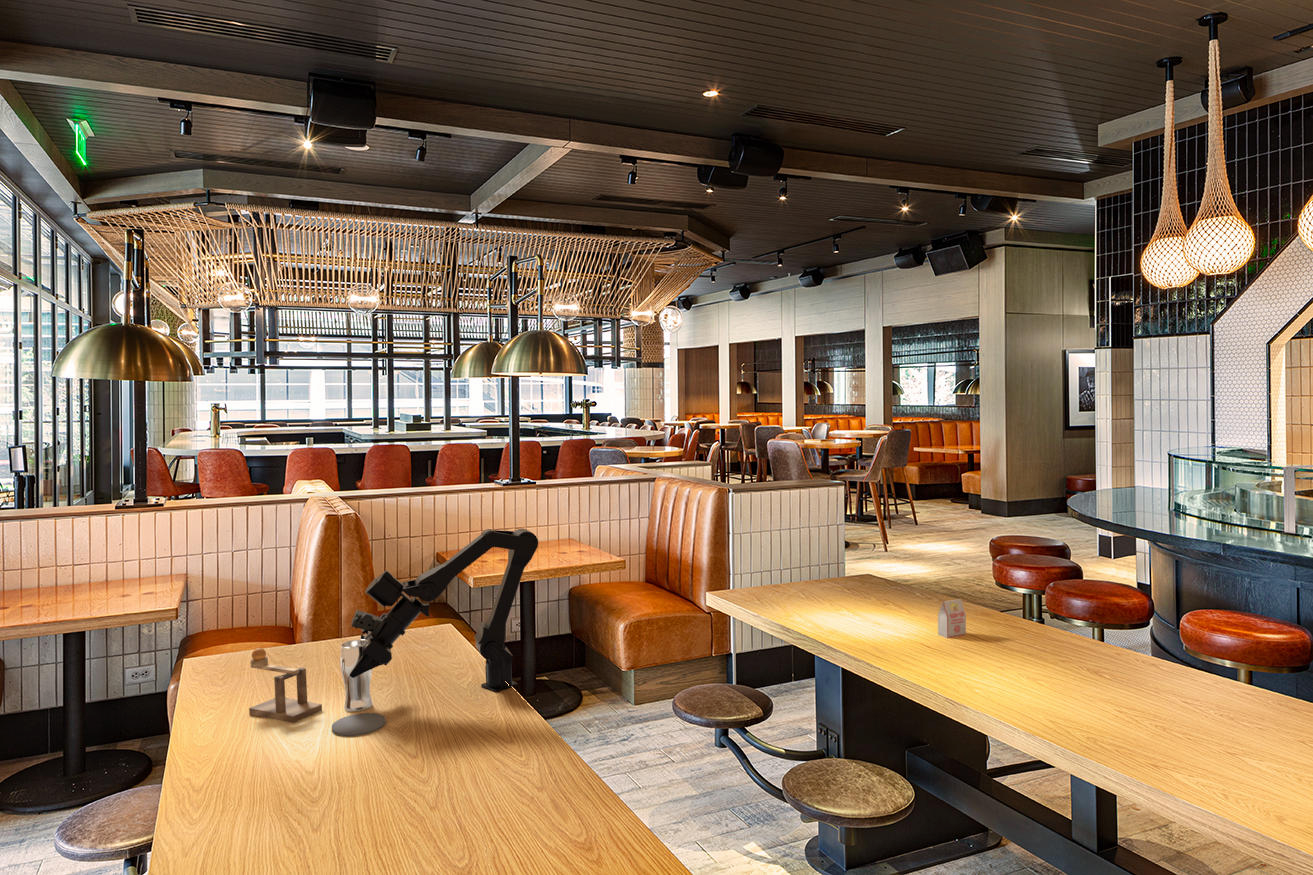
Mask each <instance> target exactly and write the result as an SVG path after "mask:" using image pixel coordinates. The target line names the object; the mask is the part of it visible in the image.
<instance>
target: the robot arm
mask: <svg viewBox="0 0 1313 875" xmlns="http://www.w3.org/2000/svg"><path fill="white" fill-rule="evenodd" d="M538 546H539V539H538V537H537V535H535V533H533V532H532V531H530V530H528V529H526V528H517V529H515V530H514V531H513V530H499V529H497V530H496V529H491V528H487V529H485V530H483V531H482V532H481V533H480V534H479V535H478V536H477V537H476V538H474V539H473V540H472V541H471V542H469V543H468V544H467V545H465V546H464V547H463V548H461V549H460V550H459V551H458V552H456V553H455V554H454V555H453V556H451V557H450V558H449V559H448V560H447V559H446V561H445V562H443V563H442V564H439V565H438V566H434V567H433V568H430V569H428V570H427V571H425V572H423V573H422V574H420V575H418V576H417V577H416V578H415V579H411V580H407V581H402V582H401V581H399V580H398V579H397V578H395V577H394V576H393V574H392V573H391V572H390V571H389V570H387V569H385V570H384V572H382V573H381V574H379V575H378V576H377V577H376V578H373V580H372V581H371V582H370V583H369V585H368V586H367V587H366V589H365V594H366V595H368V596H369V597H371V599H372V600H374V601H375V602H376V603H377V604H379V605H380V606H381V607H383V608H385V607H390V610H389V611H388V612H387V613H386V612H384V613H382V614H381V615H380V616H378V615H374V614H373V613H369V612H366V611H363V610H360V609H356V610H355V612H354V615H353V617H352V619H351V622H350V623H351V624H350V626H351V627H352V628H355V629H360V630H361V633H360V639H366V640H368V641H367V642H366V644H365V646H362V651H363V654H362V656H361V658H360V659H359V661H358V662H357V664H356V665H355V667H354V668H353V670H352V671H351V673H350V677H352V678H354V677H356V676H358V675H360V674H362V673H364V672H366V671H369V670H371V669H372V670H373V669H375V668H377V667H379V666H383V665H384V666H387V665H388V664H389V663H390V662H391V661H392V659H393V655H392V650H391V649H392V648H393V647H394V645H393V644H394V643H395V642H396V641H397V640H398V638H400V636H402V637H403V636H404V635H405V634H406V629H407V628H408V627H409V626H410V625H411V624H412V623H413V622H414V621H415V620H416V619H417V617H418V616H419V615H420V614H421V613H422V614H423V615H424V616H425V617H427V618H428V617H430V606H431V605H430V603H428V602H433V601H435V600H436V599H438V597H440V595H441V594H442V593H443V592H444V591H445V590H446V589H447V587H449V585H450V584H451V583H452V581H453V580H454V579H455V578H456V577H457V576H458V575H459V574H460V573H462V572H463V571H464V570H466V569H467V568H468V567H469V566H470V565H472V564H473V563H474V562H476V561H477V560H479V558H481V557H482V556H483V555H484V554H486V553H487V552H488V551H489V550H491V549H492V548H497V549H498V548H499V549H503V550H504V549H506V550H508V552H507V553H508V555H507V556H508V557H507V565H506V568H505V570H504V573H503V576H502V579H501V582H500V584H499V588H498V591H497V594H496V597H495V601H494V604H493V606H492V608H491V612H490V616H489V617H488V619H487V620H486V621H485V623H484V622H482V621H479V623H478V628H477V632H476V633H475V635H473V637H474V639H475V646H476V648H477V651H479V654H480V655H481V656H482V658H484V659H485V682H484V683H481V685H480V686H481V687H483V688H485V689H488V690H489V691H493V692H500V691H502V690H506V689H509V688H512V687H515V686H517V685H518V682H516V681H513V679H512V674H513V673H512V662H513V659H514V656H513V654H512V653H511V652H510V650H509V649H508V647H507V646H506V645H505V641H506V631H507V629H506V627H507V623H508V622H507V621H508V617H509V615H510V612H511V609H512V606H513V604H514V600H515V598H516V595H517V591H518V588H519V585H520V583H521V580H522V577H523V573H524V571H525V569H526V567H527V566H528V564H529V563H530V562H531V560H532V559H533V557H534V555H535V553H536V552H537V549H538ZM411 597H412V598H411ZM418 598H419V599H418ZM420 600H421V601H420ZM422 601H423V602H427V603H423V602H422ZM391 607H392V608H391ZM505 681H506V682H507V683H508V684H509V686H510V687H509V686H508V684H507V683H506V682H505Z"/></svg>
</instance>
